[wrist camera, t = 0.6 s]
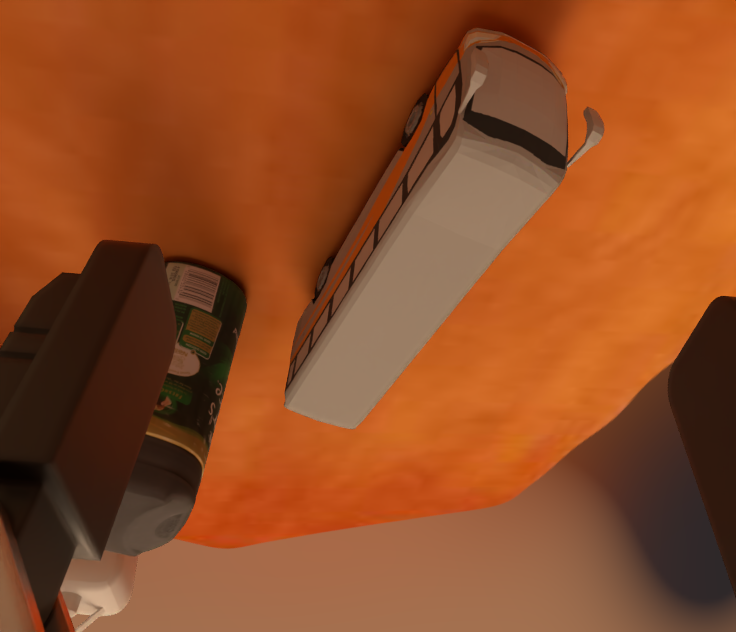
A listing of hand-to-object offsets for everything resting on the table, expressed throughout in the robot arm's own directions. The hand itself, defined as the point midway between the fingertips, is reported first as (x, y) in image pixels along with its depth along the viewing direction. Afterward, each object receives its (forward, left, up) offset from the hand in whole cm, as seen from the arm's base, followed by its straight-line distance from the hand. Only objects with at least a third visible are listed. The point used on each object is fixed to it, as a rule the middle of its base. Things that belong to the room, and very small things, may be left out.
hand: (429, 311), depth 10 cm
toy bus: (+18, -2, -28) cm, 33 cm away
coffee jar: (+26, -19, -28) cm, 43 cm away
